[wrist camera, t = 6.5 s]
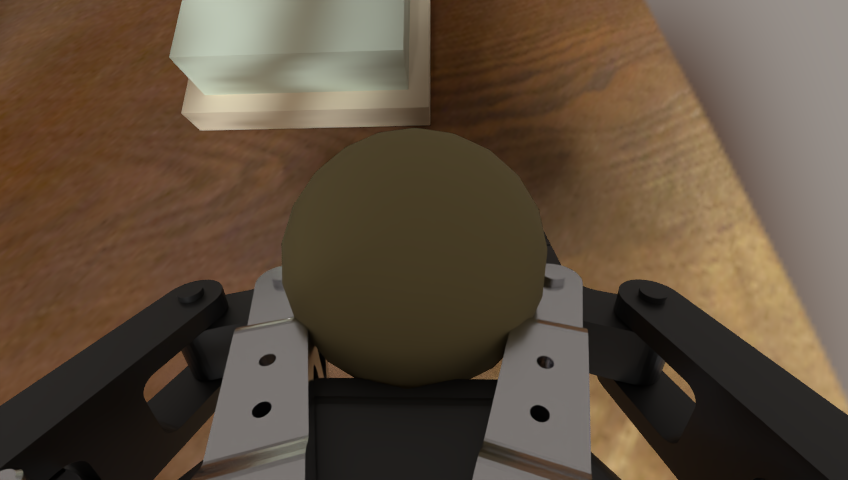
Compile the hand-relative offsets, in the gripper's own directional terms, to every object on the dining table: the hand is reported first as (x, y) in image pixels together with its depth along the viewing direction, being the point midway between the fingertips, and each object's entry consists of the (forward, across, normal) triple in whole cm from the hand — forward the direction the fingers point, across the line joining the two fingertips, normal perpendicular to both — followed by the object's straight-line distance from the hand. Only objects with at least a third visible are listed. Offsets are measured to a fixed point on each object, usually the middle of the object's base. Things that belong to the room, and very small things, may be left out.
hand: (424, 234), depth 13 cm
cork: (+2, 0, +5) cm, 5 cm away
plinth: (+13, +6, -6) cm, 15 cm away
